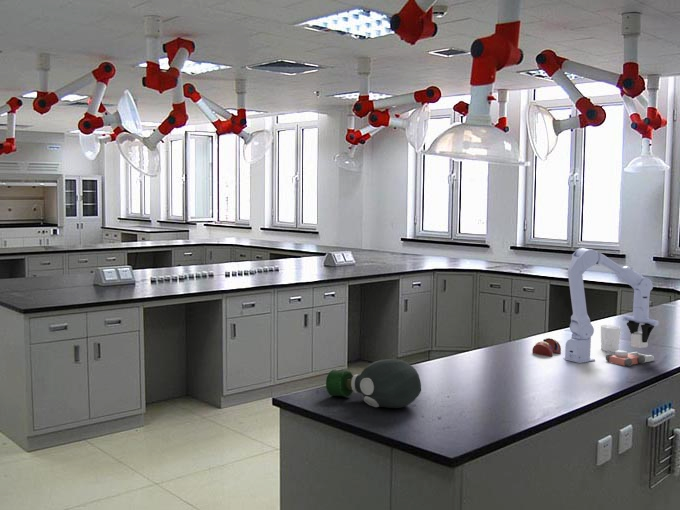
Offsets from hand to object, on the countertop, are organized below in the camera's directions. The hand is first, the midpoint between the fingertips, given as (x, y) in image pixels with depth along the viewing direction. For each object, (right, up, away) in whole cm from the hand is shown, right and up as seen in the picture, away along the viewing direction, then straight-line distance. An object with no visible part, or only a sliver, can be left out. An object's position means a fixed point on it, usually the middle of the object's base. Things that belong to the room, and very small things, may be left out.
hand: (639, 341), depth 272 cm
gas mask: (-108, -12, -59) cm, 123 cm away
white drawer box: (0, -2, 0) cm, 2 cm away
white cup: (-5, -6, +18) cm, 20 cm away
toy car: (-4, -8, -2) cm, 9 cm away
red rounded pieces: (-34, -7, +11) cm, 36 cm away
